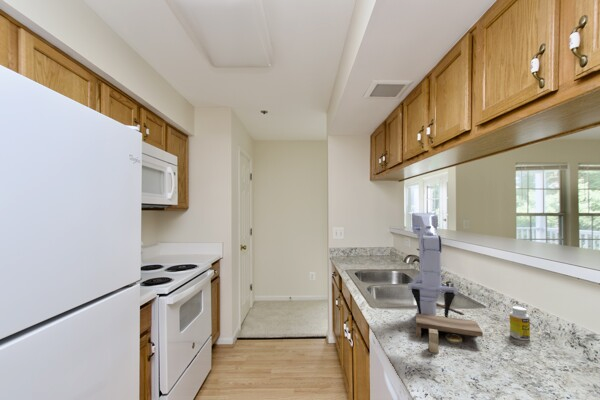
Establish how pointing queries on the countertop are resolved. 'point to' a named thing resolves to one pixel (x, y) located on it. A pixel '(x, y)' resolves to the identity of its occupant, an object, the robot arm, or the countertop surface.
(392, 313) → the countertop surface
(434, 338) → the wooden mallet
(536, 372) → the countertop surface
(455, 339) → the brass disc
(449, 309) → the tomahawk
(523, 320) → the supplement bottle
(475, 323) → the low wooden bench
